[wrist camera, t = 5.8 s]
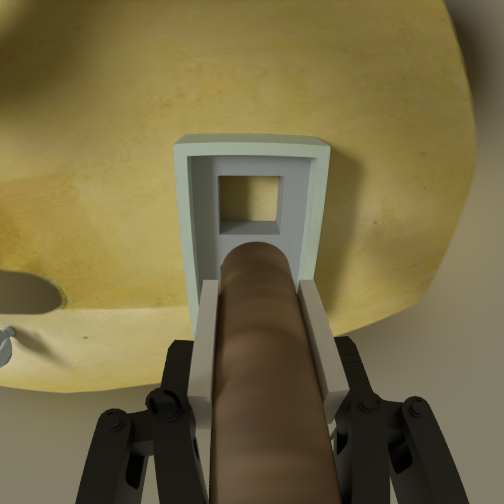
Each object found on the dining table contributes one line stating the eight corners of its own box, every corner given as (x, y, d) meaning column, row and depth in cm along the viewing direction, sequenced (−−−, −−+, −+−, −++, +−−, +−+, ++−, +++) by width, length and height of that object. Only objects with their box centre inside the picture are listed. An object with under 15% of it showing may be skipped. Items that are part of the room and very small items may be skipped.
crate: (184, 134, 25) (173, 144, 20) (315, 136, 25) (330, 146, 21) (197, 305, 35) (193, 335, 31) (295, 304, 36) (302, 334, 31)
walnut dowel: (222, 297, 18) (214, 538, 6) (220, 241, 16) (200, 534, 4) (286, 297, 18) (327, 530, 6) (292, 241, 16) (366, 518, 4)
